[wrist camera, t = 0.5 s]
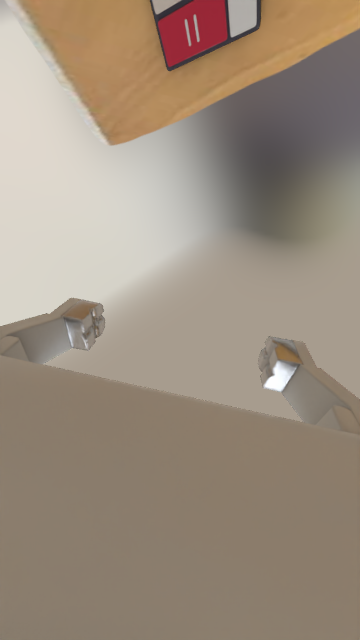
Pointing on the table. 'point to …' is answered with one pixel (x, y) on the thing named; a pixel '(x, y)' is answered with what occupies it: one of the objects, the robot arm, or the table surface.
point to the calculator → (201, 26)
